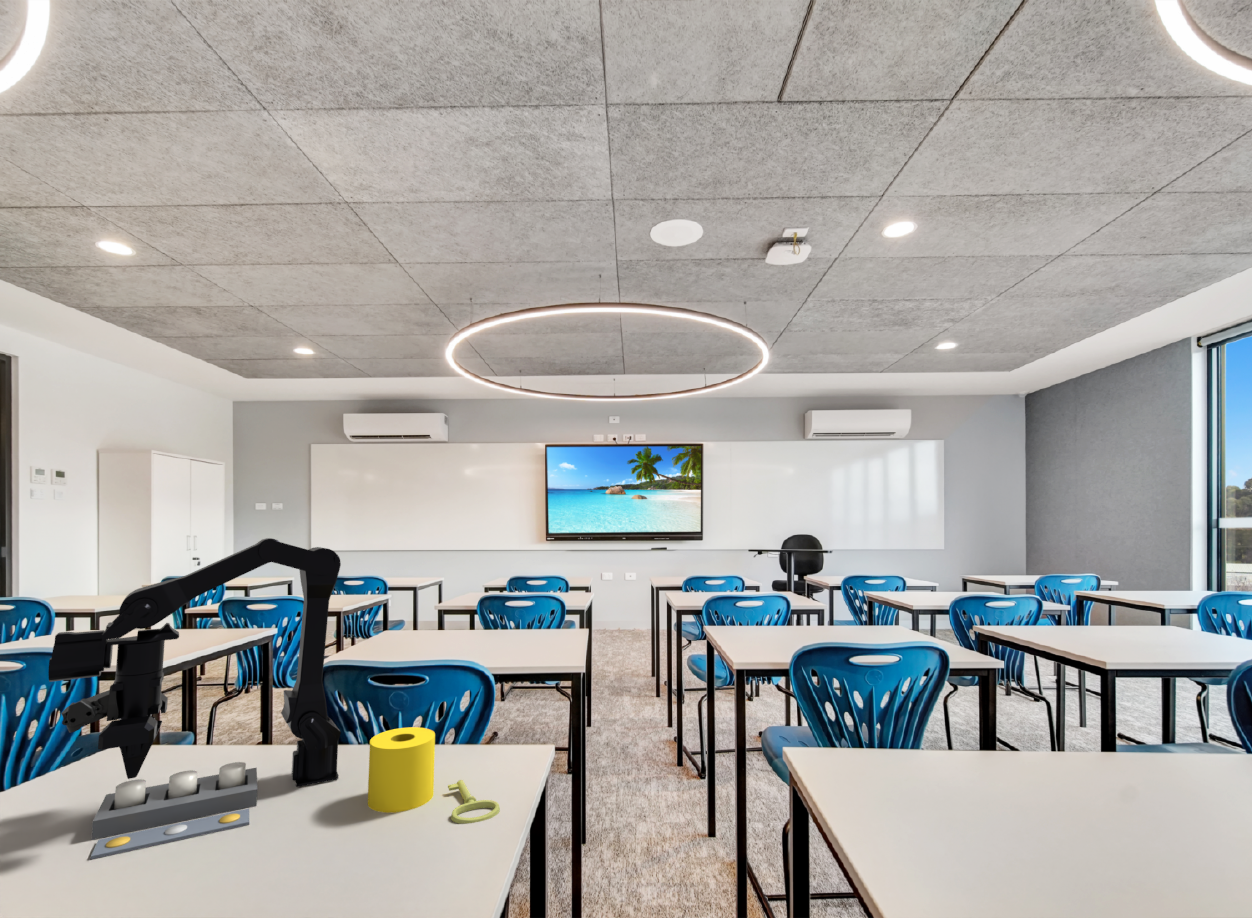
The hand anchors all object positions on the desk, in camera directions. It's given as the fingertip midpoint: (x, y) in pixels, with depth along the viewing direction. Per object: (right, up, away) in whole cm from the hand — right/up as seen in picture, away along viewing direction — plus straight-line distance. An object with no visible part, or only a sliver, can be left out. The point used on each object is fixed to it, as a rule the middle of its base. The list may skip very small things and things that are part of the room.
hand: (132, 777), depth 94 cm
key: (+50, -7, +3) cm, 51 cm away
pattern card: (+10, -6, -5) cm, 13 cm away
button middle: (+5, -4, +3) cm, 8 cm away
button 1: (0, -4, 0) cm, 4 cm away
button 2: (+11, -5, +6) cm, 14 cm away
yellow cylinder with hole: (+38, -7, +6) cm, 40 cm away
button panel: (+5, -6, +3) cm, 9 cm away
